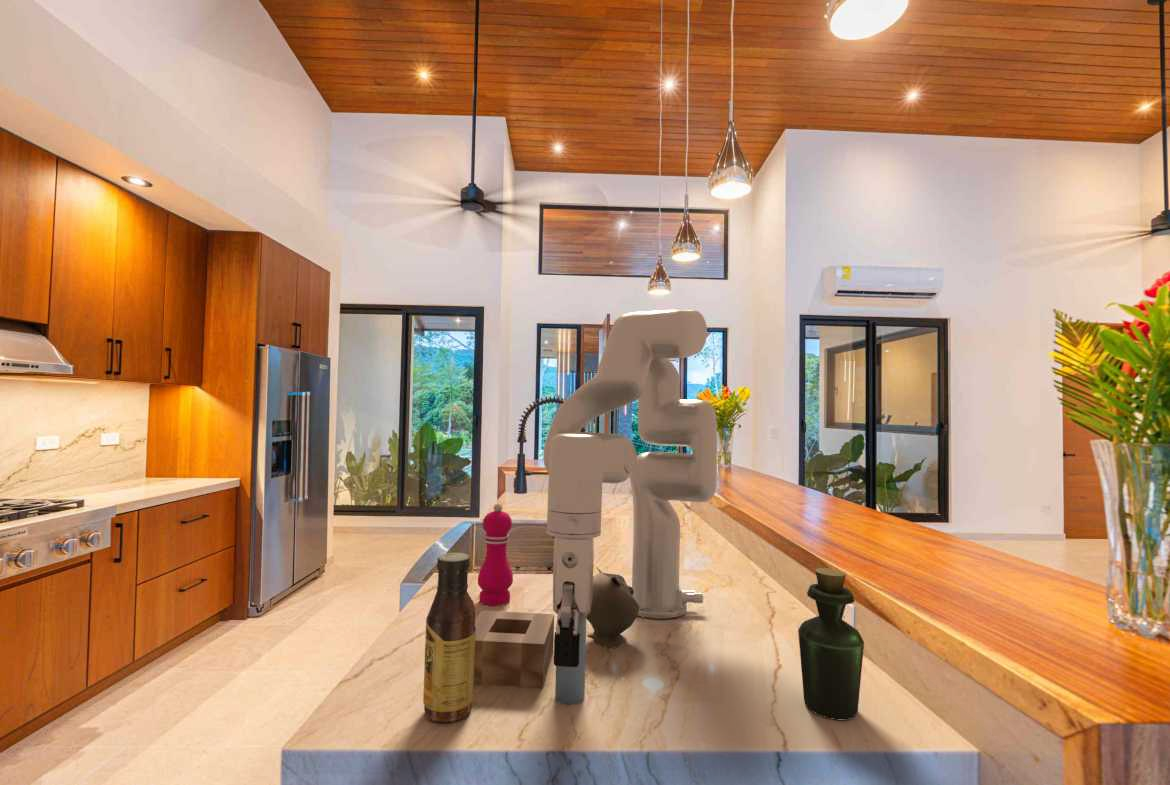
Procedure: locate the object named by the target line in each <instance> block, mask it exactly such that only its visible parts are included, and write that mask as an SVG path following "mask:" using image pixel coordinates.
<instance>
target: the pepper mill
mask: <svg viewBox="0 0 1170 785" xmlns="http://www.w3.org/2000/svg"><path fill="white" fill-rule="evenodd" d="M512 525H513V521H512V518H511V516H510V515H509V513H507V512H505V511H503V506H502V504H501V503H496V504H494V506H493V511H490V512H488V513H487V514H486V515H485V516H484V518H483V520H482V528H483V529H482V530H483V531H485V533H486V534H485V535H484V542H485V544H486V553H485V554H486V555H485V558H484V561H483V563H482V565H481V567H480V570H479V573H478V576H477V584H478V586H479V587H480V589H481V591H480V592H479V603H480V604H482V605H483V604H484V606H488V605H489V606H488V607H497V605H500V606H504V605H507V604H508V603H510V600H511V591H510V590H509V588H510V587H511V586H512V585H513V583H514V582H513V581H514V577H513V576H514V574H513V571H512V568H511V565H510V563H509V559H508V557H507V556H508V555H507V544H508V543H509V541H510V540H509V537H510V535H509V531H511V529H512ZM506 603H507V604H506ZM503 604H504V605H503Z"/></svg>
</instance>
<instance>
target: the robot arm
mask: <svg viewBox="0 0 1170 785" xmlns="http://www.w3.org/2000/svg"><path fill="white" fill-rule="evenodd" d="M707 326H708V325H707V323H706V319H705V317H704V316H703V314H702V313H701V311H699V310H696V309H689V310H687V309H684V310H683V309H681V310H680V309H665V310H651V311H650V310H649V311H647V310H646V311H634V312H629V313H628V312H627V313H625V314H622V315H620V316H619V317H617V318H616V319H615V320H614V322H613V324H612V325H611V328H610V330H609V334H608V337H607V339H606V342H605V347H604V350H603V352H602V354H601V358H600V362H599V364H598V367H597V369H596V370H597V371H596V374H595V375H594V376H593V377H592V378H590V379H589V380H588V381H587V382H584V384H582V385H581V386H580V387H579V388H577V389H576V390H575V391H574V392H573V393H572V394H570V396H568V397H567V398H566V399H565V400H564V401H563V402H562V403H561V405H560V406H559V407H558V409H557V410H556V413H554V414H555V415H554V416H553V419H552V421H551V424H550V427H549V429H548V433H547V436H546V439H545V442H544V443H545V444H544V448H543V454H542V456H543V459H542V460H543V461H542V462H543V466H544V468H545V469H546V472H547V473H548V488H547V513H546V514H547V515H546V516H547V517H546V534H547V535H549V537H554V544H553V569H552V570H553V571H552V572H553V573H552V610H553V612H554V614H556V615H557V616H556V623H555V624H556V625H555V631H554V642H553V665H554V666H555V667H556V666H564V667H577V666H578V665H579V645H580V633H578V622H579V612H580V613H585V616H587V615H588V614H589V613H590V611H591V606H592V598H593V576H594V562H595V561H594V549H595V548H594V546H595V545H594V538H598V537H600V536H601V535H602V506H603V504H602V503H603V502H602V500H603V484H615V485H616V484H620V483H623V482H625V481H627V480H628V479H630V480H629V482H630V489H631V494H632V507H633V509H632V511H633V515H632V516H633V521H632V522H633V524H632V525H633V526H632V527H633V530H632V533H633V534H632V568H631V569H632V574H631V575H632V577H631V578H632V579H631V580H632V581H631V582H632V583H631V587H632V588H633V590H634V594H633V595H632V596H633V598H634V599H635V600H636V602H637V603H638V605H639V612H638V615H637V617H638V616H639V617H642V618H647V619H655V620H656V619H657V620H658V619H659V620H661V619H662V620H664V619H665V620H666V619H673V618H675V619H676V618H678V617H681V616H683V615H685V614H686V613H687V607H688V605H687V604H688V603H693V604H703V603H704V595H703V592H696V590H693V589H692V590H691V589H690V590H689V589H688V590H687V589H686V590H684V589H683V588H682V587H681V584H680V556H681V555H680V554H681V553H680V552H681V549H680V548H681V521H680V518H679V516H678V514H677V512H676V510H675V508H674V507H673V505H672V504H671V503H670V501H680V502H690V503H691V502H692V503H707V502H709V501H711V500H712V499H713V498H714V496H715V495H716V489H717V482H718V479H717V478H718V422H717V421H718V420H717V415H716V411H715V409H714V407H713V405H712V404H711V403H710V402H708V401H706V400H704V399H702V400H701V399H685V398H684V399H682V398H681V394H680V387H681V385H680V381H681V379H680V374H679V371H678V369H677V368H676V367H675V365H674V364H673V362H672V361H671V360H670V359H684V358H688V357H689V358H690V357H693V356H695V355H698V354H699V353H701V351H702V350H703V349H704V347H705V345H706V342H707V336H708V327H707ZM635 401H637V403H638V404H637V410H638V411H637V428H638V435H639V438H640V439H641V441H642V442H644V443H645V444H648V445H654V446H667V447H668V446H669V447H688V448H690V450H691V453H683V452H673V451H672V452H667V451H647V452H642V453H640V454H638V455H637V450H636V447H635V445H634V444H633V442H632V441H631V440H630V439H629V438H628V437H627V436H624V435H622V434H618V433H609V432H608V433H606V432H590V431H589V432H587V431H585V432H584V431H581V430H582V429H583V428H584V427H585V426H586V425H587V424H589V423H590V422H591V421H594V419H596V418H598V417H600V416H603V415H605V414H607V413H611V412H613V411H615V410H618V409H620V408H622V407H625V406H627V405H630V404H633V403H634V402H635ZM572 607H574V608H576V609H572ZM571 617H574V620H573V618H571Z"/></svg>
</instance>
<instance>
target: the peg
mask: <svg viewBox="0 0 1170 785" xmlns="http://www.w3.org/2000/svg"><path fill="white" fill-rule="evenodd" d="M572 609H576V608H574V607H572ZM571 618H573V620H574V617H571ZM578 633H580V645H579V665H578V666H577V667H564V666H555V689H554V690H555V692H554V697H555V700H556V701H557V702H559V703H560V704H564V705H575V704H576V705H577V704H580V703H582V702H583V701H584V700H585V695H586V694H585V689H586V685H585V684H586V654H587V652H586V650H587V648H586V647H587V646H586V645H587V643H586V642H587V619H586V616H585V613H580V612H579V622H578Z"/></svg>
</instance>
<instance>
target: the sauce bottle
mask: <svg viewBox="0 0 1170 785" xmlns="http://www.w3.org/2000/svg"><path fill="white" fill-rule="evenodd" d="M470 560H471V559H470V555H469V554H467V553H464V552H447V553H443V554H441V555H438V557H437V561H436V562H437V564H436V567H437V571H438V572H437V574H438V575H437V577H438V578H437V587H436V592H435V595H434V598H433V602H432V604H431V606H430V609H429V611H428V614H427V616H426V618H425V619H426V621H425V642H424V643H425V644H424V667H423V668H424V672H423V673H424V674H423V694H422V696H423V699H422V701H423V703H422V704H423V708H424V714H425V717H427V719H428V720H429V721H432V722H436V723H452V722H453V723H454V722H456V721H460V720H462V719H464V718H466V717H467V716H468V714H470V711H471V710H472V707H473V699H474V685H475V684H474V663H475V635H476V627H475V619H476V617H477V616H476V615H477V614H476V613H477V612H476V605H475V603H474V600H473V599H472V597H471V596H470V595H469V594H470V593H469V592H468V588H469V584H468V576H469V572H468V571H469V570H470Z"/></svg>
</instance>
